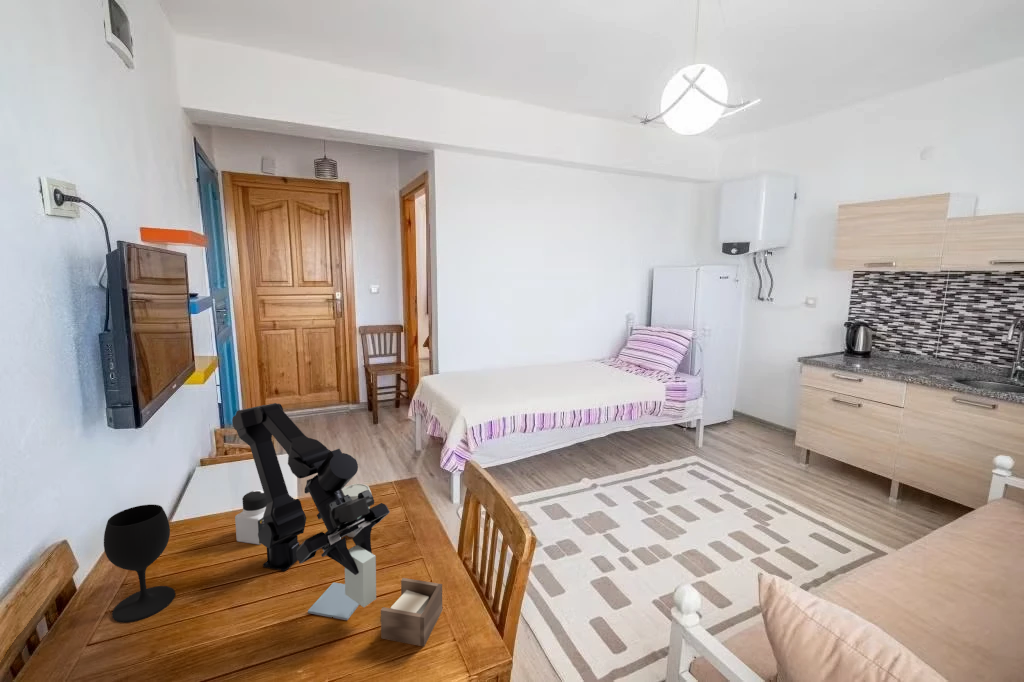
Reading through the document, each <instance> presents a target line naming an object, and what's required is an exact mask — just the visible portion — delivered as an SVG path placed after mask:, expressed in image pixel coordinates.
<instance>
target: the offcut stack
mask: <svg viewBox="0 0 1024 682" xmlns="http://www.w3.org/2000/svg"><path fill="white" fill-rule="evenodd" d="M428 602H429V596H425V595H422V594H419V593H415V592H412V591H409V590H406V591H405V592H404V593H403V595H402V596H400V597H399V598H397V600H396V601H395V602H394V603H393V604H392V605H391V607H390V608H391V609H396V610H402V611H407V612H413V613H419V614H422V613H423V611H424V609H425V607H426V605H427V604H428Z"/></svg>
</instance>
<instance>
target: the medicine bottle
mask: <svg viewBox="0 0 1024 682" xmlns="http://www.w3.org/2000/svg"><path fill="white" fill-rule="evenodd" d="M241 501H242V511H241V512H239V513H238V514H235V516H234V522H235V534H236V535H235V536H236V538H235V539H236V542H240V543H246V544H253V545H262V544H261V543H260V542H259V537H258V533H259V531H260V530H261V529H262V527H263V526H264V520H263V516H264V512H265V509H266V506H267V502H266V498H265V495H264V491H263V489H260V490H259V489H257V490H252V491H249V492H247V493H246V494H244V495H243V496H242V500H241Z"/></svg>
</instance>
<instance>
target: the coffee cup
mask: <svg viewBox="0 0 1024 682" xmlns="http://www.w3.org/2000/svg"><path fill="white" fill-rule="evenodd" d="M366 490H369V491H370V493H371V494H372V491H371V489H370V486H369V485H367V484H364V483H353V484H349V485H345V486H344V488H342V491H343V493H344V495H345V496H346V495H349V496H350V497H351V499H352V500H355V499H357V498H358V494H359V493H361V492H363V491H366ZM372 495H373V494H372ZM370 508H371V506H369V509H370ZM360 517H361V516H360ZM360 517H358V518H357V519H359V518H360ZM346 536H347V537H349V538H354V537H355V534H354V532H351V533H349V534H347V535H346Z"/></svg>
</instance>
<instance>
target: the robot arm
mask: <svg viewBox="0 0 1024 682" xmlns="http://www.w3.org/2000/svg"><path fill="white" fill-rule="evenodd" d="M231 419H232V421H231V422H232V426H233V429H234V430H235V431H236V432H237V435H238V438H239V439H240V440H241V441H243V442H244V443H245V444H246V445H247V446H249V447H250V451H251V455H252V457H253V461H254V465H255V468H256V470H257V475H258V477H259V481H260V484H261V488H262V490H263V491H264V495H265V498H266V502H267V506H266V509H265V512H264V516H263V520H264V526H263V527H262V529H261V530H260V531H259V533H258V537H259V542H260V543H261V544H260V545H263V546H264V547H266V559H267V560H266V561H265V562H264V563H263V564H262V567H263V568H264V569H271V570H278V571H283V572H284V571H287V570H289V569H290V568H291V567H292V566H293V565H294V564H295V563H296V562H298V563H299V564H304V563H305V562H307V561H308V560H311V559H312V558H314V557H315V556H316V554H317V552H318V550H320V549H322V551H323V552H322V553H321V557H322V558H324V557H328V558H329V559H332V560H333V561H335V562H336V563H338V564H340V565H341V566H343V567H344V569H345V568H346V569H348V570H349V571H350V572H352V573H353V574H354V575H357V574H358V573H359V571H358V568H357V566H356V564H355V562H354V560H353V558H352V556H351V554H350V552H349V550H348V546H347V538H346V537H345V536H347V534H349V533H351V532H354V534H355V537H352V541H353V543H354V546H355V545H358V546H360V547H362V548H363V549H365V550H367V551H369V552H370V553H372V554H373V551H372V543H371V542H372V541H371V537H372V535H371V534H372V529H373V527H375V526H376V525H377V524H379V523H380V522H381V521H382V520H384V518H385V517H387V516H388V515H389V514H390V513H391V512H390V509H389V508H388V506H387V504H385V503H382V502H380V503H378V504H376V505H374V504H375V499H374V496H373V494H371V493H372V492H371V493H370V491H369V490H366V491H363V492H361V493H359V494H358V498H357V499H355V500H352V499H351V497H350V496H349V495H346V496H345V495H344V493H343V491H342V489H343V488H344V487H346V486H347V484H348V483H350V482H351V480H352V479H353V478H354V477H355V475H356V474H357V472H358V469H359V464H358V461H357V459H356V458H355V457H353V456H352V455H350V454H348V453H345V452H344V453H343V452H342V450H341V449H340V448H337V449H335V450H334V449H333V450H330V449H329V448H328V447H327V446H326V445H324V444H323V443H321V441H320V440H318V439H315V438H311V437H308V436H306V435H305V434H304V432H303V431H302V430H301V429H300V428H299V427H298V426H297V424H295V422H294V421H293V420H292V419H291V418H290V417H289V415H288V414H286V412H285V411H284V407H283V406H282V404H281V403H276V402H274V403H269V404H263V405H258V406H253V407H249V408H244V409H239V410H237V411H236V413H235V415H233V416H232V418H231ZM272 437H273V438H274V439H275V441H277V442H278V444H279V445H280V447H282V448H283V450H284V451H285V452H286V454H287V456H288V457H287V465H288V467H289V469H290V471H291V473H292V474H293V475H294V476H295V477H296V478H298V479H304V478H308V477H310V476H313V475H315V476H313V477H312V478H309V479H307V480H306V485H305V487H304V494H308V493H309V494H310V497H311V498H312V501H313V502H314V505H315V508H316V509H317V511H318V513H317V515H316V517H317V519H318V520H322V522H323V524H324V526H325V528H326V532H323V531H320V532H319V533H317V534H314V535H312V536H309V537H308V538H306V539H305V540H304V541H302V543H301V544H300V542H299V540H298V538H299V537H298V536H299V535H301V534H304V532H305V527H306V522H307V516H306V513H305V511H304V509H303V506H302V502H301V500H300V499H298V498H296V499H295V498H294V497H292V496H291V495H290V493H289V491H288V487H287V485H286V481H285V479H284V474H283V472H282V468H281V465H280V462H279V458H278V455H277V452H276V449H275V445H274V442H273V439H272ZM369 506H370V508H369ZM360 516H361V517H360ZM358 517H360V518H359V519H357V518H358Z"/></svg>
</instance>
